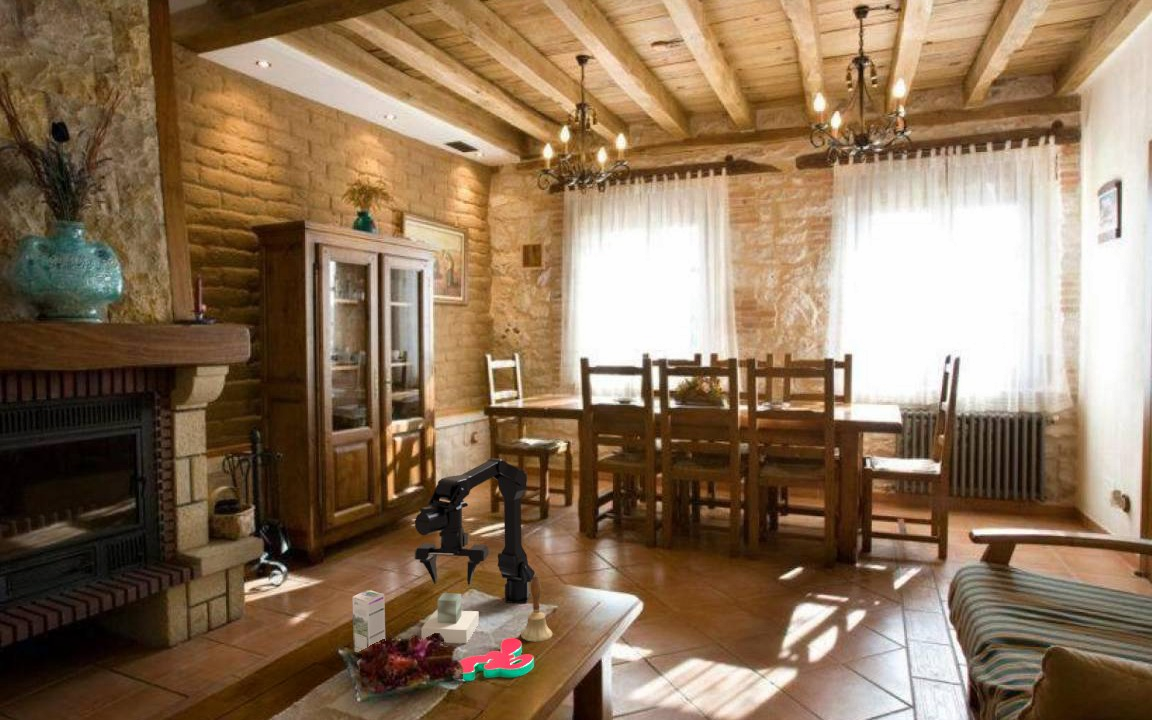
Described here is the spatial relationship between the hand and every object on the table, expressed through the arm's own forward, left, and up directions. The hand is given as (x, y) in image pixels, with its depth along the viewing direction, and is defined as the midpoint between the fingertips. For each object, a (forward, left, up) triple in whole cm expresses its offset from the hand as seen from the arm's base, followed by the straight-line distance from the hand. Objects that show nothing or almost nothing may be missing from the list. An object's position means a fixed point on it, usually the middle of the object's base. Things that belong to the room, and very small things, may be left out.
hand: (452, 583), depth 185 cm
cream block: (0, +1, -13) cm, 13 cm away
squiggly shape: (-15, +18, -14) cm, 27 cm away
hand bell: (-23, 0, -13) cm, 26 cm away
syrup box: (+17, +14, -13) cm, 26 cm away
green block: (+1, +1, -9) cm, 9 cm away
